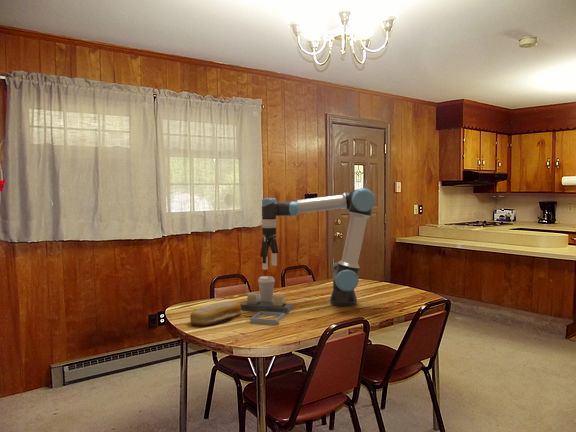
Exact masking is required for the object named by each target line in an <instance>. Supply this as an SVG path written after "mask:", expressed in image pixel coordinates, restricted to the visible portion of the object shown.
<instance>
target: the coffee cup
mask: <svg viewBox="0 0 576 432" xmlns="http://www.w3.org/2000/svg"><path fill="white" fill-rule="evenodd" d="M257 282H258V287H259V289H258V290H259V293H260V302H273V296H274V286H275V282H276V279H275V278H274V276H270V275H264V276H259V277H258V280H257Z"/></svg>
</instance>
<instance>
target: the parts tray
mask: <svg viewBox="0 0 576 432" xmlns="http://www.w3.org/2000/svg"><path fill="white" fill-rule="evenodd" d="M285 315H286V314H285V313H277V312H263V311H259V312H257V313H256V314H254V315H253V316H252V317H250V324H254V325H255V324H256V325H270V326H278V325H279V324H280V321H281V320H282V319H283V318H284V317H285ZM259 316H274V317H277V318H276V319H272V318H271V319H269V318H260V317H259Z"/></svg>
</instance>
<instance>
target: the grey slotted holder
mask: <svg viewBox="0 0 576 432" xmlns="http://www.w3.org/2000/svg"><path fill="white" fill-rule="evenodd" d="M240 306H241V312H242V311H243V312H254V313H255V312H257V313H258V312H259V311H263V312H277V313H285V315H288V314H290V313H291V312H292V311H293V303H288V302H287V303H286V302H285V306H284V307H277V306H273V302H260V304H258V305H248V304H247V300H244V301H243V302H241V303H240Z"/></svg>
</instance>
